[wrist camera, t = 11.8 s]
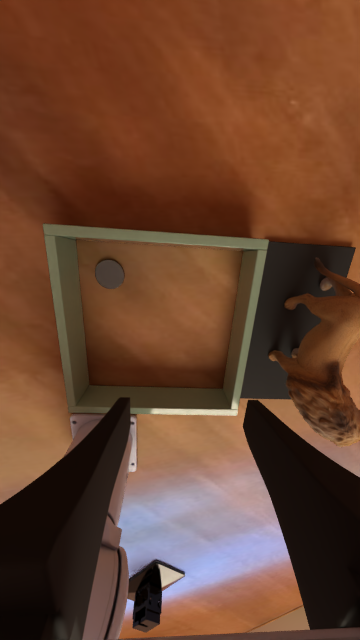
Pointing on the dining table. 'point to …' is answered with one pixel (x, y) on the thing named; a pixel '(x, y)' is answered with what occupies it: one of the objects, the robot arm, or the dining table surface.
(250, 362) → the mat
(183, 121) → the dining table surface
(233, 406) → the green square tray
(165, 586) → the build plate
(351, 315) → the lion figurine
